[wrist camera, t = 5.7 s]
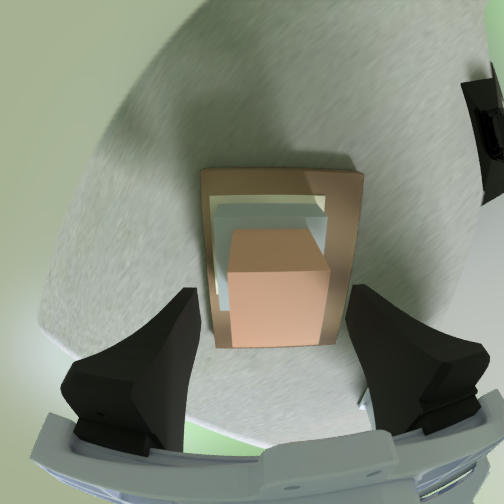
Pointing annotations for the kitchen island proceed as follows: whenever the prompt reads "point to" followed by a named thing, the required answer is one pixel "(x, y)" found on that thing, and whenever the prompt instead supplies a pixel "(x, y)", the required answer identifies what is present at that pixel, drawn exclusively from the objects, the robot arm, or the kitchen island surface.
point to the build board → (288, 191)
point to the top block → (276, 287)
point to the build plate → (488, 131)
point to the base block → (260, 218)
